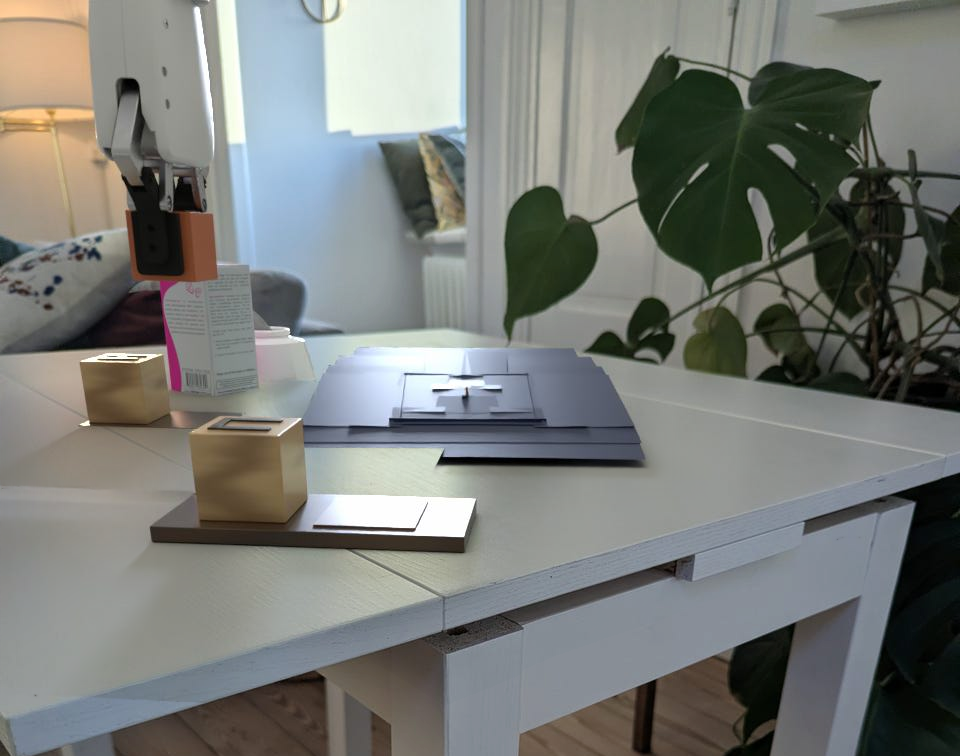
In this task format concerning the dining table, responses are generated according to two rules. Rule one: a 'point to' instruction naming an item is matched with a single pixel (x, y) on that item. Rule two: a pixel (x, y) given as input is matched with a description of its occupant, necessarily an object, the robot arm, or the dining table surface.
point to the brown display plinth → (296, 498)
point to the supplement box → (211, 333)
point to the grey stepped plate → (472, 404)
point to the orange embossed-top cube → (186, 248)
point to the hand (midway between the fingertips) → (175, 270)
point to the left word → (134, 394)
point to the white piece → (270, 348)
